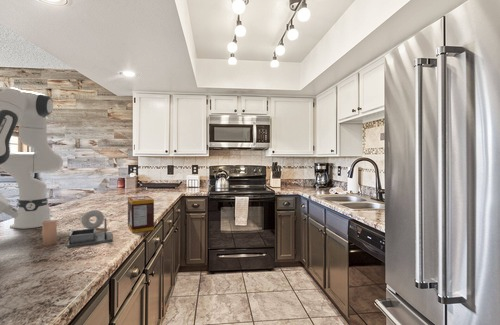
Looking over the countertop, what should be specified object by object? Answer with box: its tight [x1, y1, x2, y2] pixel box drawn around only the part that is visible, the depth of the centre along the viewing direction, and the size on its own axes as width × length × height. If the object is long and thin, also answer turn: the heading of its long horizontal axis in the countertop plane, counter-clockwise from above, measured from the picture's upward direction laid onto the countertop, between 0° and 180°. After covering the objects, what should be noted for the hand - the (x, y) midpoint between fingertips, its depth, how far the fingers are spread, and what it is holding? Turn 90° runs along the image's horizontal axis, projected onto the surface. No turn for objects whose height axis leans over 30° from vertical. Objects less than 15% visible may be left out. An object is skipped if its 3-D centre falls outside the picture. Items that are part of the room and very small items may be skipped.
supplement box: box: [127, 195, 155, 234], centre depth 135 cm, size 10×15×16 cm
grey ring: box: [81, 209, 105, 229], centre depth 132 cm, size 10×4×10 cm, turn 130°
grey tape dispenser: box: [67, 217, 113, 248], centre depth 115 cm, size 13×16×8 cm
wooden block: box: [41, 219, 58, 247], centre depth 109 cm, size 5×5×10 cm
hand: (16, 214), depth 102 cm, fingers open, 8 cm apart
